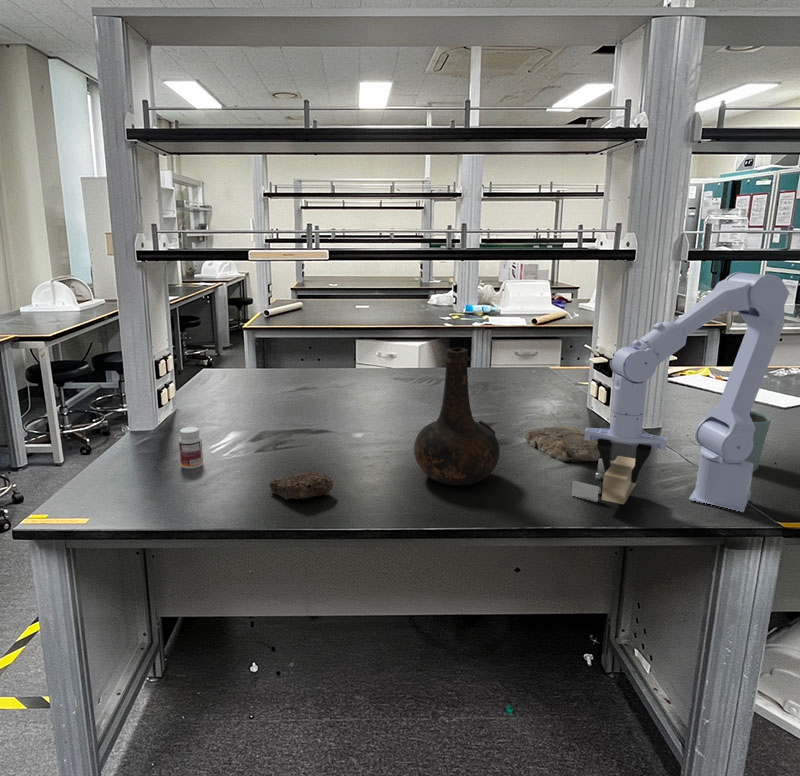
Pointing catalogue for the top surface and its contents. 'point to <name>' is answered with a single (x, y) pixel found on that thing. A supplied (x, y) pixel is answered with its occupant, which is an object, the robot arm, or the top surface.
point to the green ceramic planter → (758, 437)
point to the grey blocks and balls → (589, 486)
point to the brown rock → (302, 485)
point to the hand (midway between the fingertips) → (620, 479)
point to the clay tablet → (563, 443)
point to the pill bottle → (190, 448)
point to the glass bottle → (456, 433)
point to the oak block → (619, 480)
